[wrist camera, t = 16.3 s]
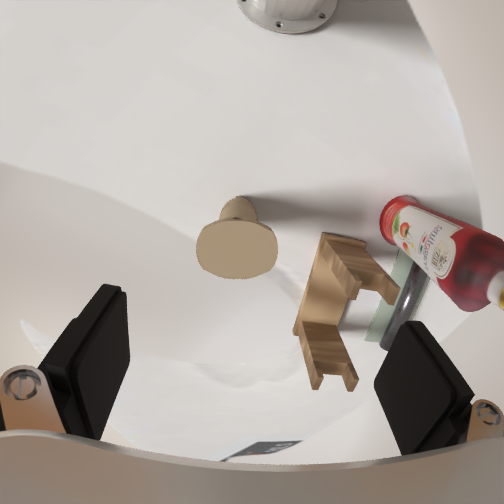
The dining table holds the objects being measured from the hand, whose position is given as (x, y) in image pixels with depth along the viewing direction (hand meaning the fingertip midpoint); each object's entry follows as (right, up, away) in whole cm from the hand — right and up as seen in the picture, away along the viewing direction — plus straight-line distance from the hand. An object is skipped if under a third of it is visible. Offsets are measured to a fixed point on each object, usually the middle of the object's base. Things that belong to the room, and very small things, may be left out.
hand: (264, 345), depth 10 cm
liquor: (+19, +8, +30) cm, 37 cm away
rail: (+22, -5, +33) cm, 40 cm away
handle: (-2, +8, +29) cm, 31 cm away
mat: (+22, -4, +35) cm, 41 cm away
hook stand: (+10, -2, +34) cm, 35 cm away
